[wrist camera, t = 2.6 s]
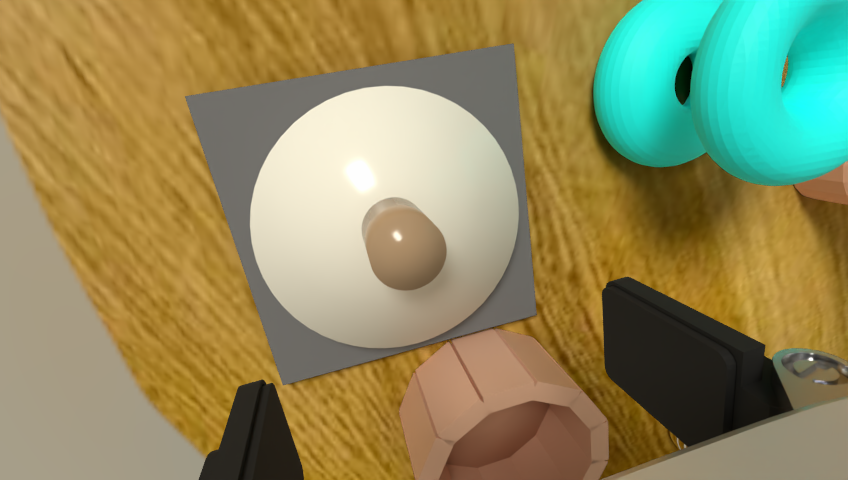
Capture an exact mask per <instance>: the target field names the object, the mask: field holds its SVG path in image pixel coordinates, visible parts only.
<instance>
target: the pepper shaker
mask: <svg viewBox="0 0 848 480" xmlns="http://www.w3.org/2000/svg"><path fill="white" fill-rule="evenodd" d="M794 186H795V188H796V189H797V190H798V191H799V192H800V193H801V194H802V195H804V196H806V197H809V198H812V199H817V200H823V201H829V202H834V203H840V204H846V205H848V161H846V162H845V163H843V164H842V165H840V166H839V167H838V168H836V169H834V170H832V171H831V172H829V173H827V174H825V175H822V176H820V177H817V178H815V179H812V180H808V181H805V182H802V183H798V184H794Z"/></svg>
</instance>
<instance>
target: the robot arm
mask: <svg viewBox="0 0 848 480" xmlns="http://www.w3.org/2000/svg"><path fill="white" fill-rule="evenodd" d="M602 304H603V330H604V357H605V369H606V372H607V374H608V376H609V377H610V378H611V380H612V381H614V382H615V383H616V384H617V385H618V386H619V387H620V388H622V389H623V390H624V391H625V392H626V393H627V394H628V395H629V396H631V397H632V398H633V399H634V400H635V401H636V402H637V403H639V404H640V405H641V406H642V407H643V408H644V409H645V410H646V411H648V412H649V413H650V414H651V415H652V416H653V417H654V418H656V419H657V420H658V421H659V422H660V423H661V424H662V425H663V426H665V427H666V428H667V429H668V430H669V431H670V432H671V433H672V434H674V435H675V436H676V437H677V438H678V439H679V440H680V441H682V442H683V443H684V444H685V445H686V446H687V448H684V449H682V450H679V451H676V452H673V453H671V454H668V455H665V456H663V457H660V458H657V459H654V460H652V461H649V462H646V463H644V464H641V465H638V466H636V467H633V468H630V469H628V470H625V471H622V472H620V473H617V474H614V475H612V476H609V477H606V478H604V479H601V480H848V361H846V360H844V359H842V358H840V357H837V356H835V355H832V354H829V353H825V352H821V351H817V350H811V349H799V348H792V349H785V350H781V351H779V352H777V353H775V355H774V356H773V357H772V360H771V359H769V358H767V357H765V356H764V352H765V345H764V344H762V343H760V342H758V341H756V340H754V339H752V338H750V337H748V336H746V335H744V334H742V333H740V332H738V331H736V330H734V329H732V328H730V327H728V326H726V325H724V324H722V323H720V322H718V321H716V320H714V319H712V318H710V317H708V316H706V315H704V314H702V313H700V312H698V311H696V310H694V309H692V308H690V307H688V306H686V305H684V304H682V303H680V302H678V301H676V300H674V299H672V298H670V297H668V296H666V295H664V294H662V293H660V292H658V291H656V290H654V289H652V288H650V287H648V286H646V285H644V284H642V283H640V282H638V281H636V280H634V279H632V278H630V277H624V278H621V279H617V280H614V281H610V282H608V283H607V285H606V288H604V289H603V291H602ZM199 480H304V476H303V469H302V465H301V462H300V459H299V456H298V453H297V450H296V447H295V444H294V441H293V438H292V435H291V432H290V429H289V426H288V423H287V420H286V417H285V415H284V412H283V409H282V406H281V403H280V400H279V397H278V394H277V391H276V388H275V386H274V384H273V383H270V384H267V385H266V383H265V381H264V380H259V381H256V382H252V383H249V384H245V385H242V386H239V388H238V390H237V393H236V396H235V399H234V402H233V406H232V409H231V412H230V415H229V418H228V422H227V425H226V428H225V431H224V434H223V438H222V441H221V444H220V447H219V449H218V450H215V451H212V452H210V453H209V454H208V456H207V458H206V460H205V463H204V466H203V469H202V472H201V475H200V477H199Z"/></svg>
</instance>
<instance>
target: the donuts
mask: <svg viewBox="0 0 848 480" xmlns="http://www.w3.org/2000/svg"><path fill="white" fill-rule="evenodd" d="M787 54H788V71H787V76H786V79H785V83H784V85H783V87H782V89H781V80H782V72H783V67H784V64H785V60H786V57H787ZM687 56H689V58H690V59H691V62H692V66H693V70H692V76H691V85H690V94H689V96H688V98H687V100H686V102H685V103H684V104H683V105H682V104H681V103H680V102H679V101H678V99H677V97H676V93H675V77H676V74H677V71H678V68H679V66H680V65H681V63H682V61H683V60H684V59H685V58H686V57H687ZM593 99H594V108H595V113H596V117H597V120H598V123H599V126H600V128H601V130H602V132H603V134H604V136H605V138H606V139H607V141H608V142H609V143H610V145H611V146H612V147H613V148H614V149H615V150H616V151H617V152H618V153H620V154H621V155H622V156H624V157H625V158H627V159H629V160H631V161H633V162H635V163H638V164H641V165H645V166H651V167H669V166H675V165H680V164H683V163H686V162H688V161H691V160H693V159H695V158H698V157H699V156H701V155H703V154H704V153H706V152H707V153H708V155H709V156H710V157H711V158H712V159H713V160H714V161H715V162H716V163H717V164H718V165H719V166H720V167H721V168H722V169H724V170H725V171H726V172H728V173H729V174H731V175H733V176H735V177H737V178H739V179H742V180H744V181H747V182H750V183H754V184H759V185H767V186H782V185H792V184H798V183H802V182H805V181H808V180H812V179H815V178H817V177H820V176H822V175H825V174H827V173H829V172H831V171H832V170H834V169H836V168H838V167H839V166H840V165H842V164H843V163H845V162H846V161H848V0H643V1H641V2H640V3H639V4H637V5H636V6H635V7H634V8H632V9H631V10H630V11H629V12H628V13H627V14H626V15H625V16H624V17H623V18H622V19H621V21H620V22H619V23H618V24H617V26H616V27H615V29H614V30H613V32H612V33H611V35H610V36H609V38H608V40H607V42H606V44H605V46H604V48H603V50H602V53H601V55H600V58H599V61H598V64H597V68H596V73H595V78H594V88H593Z"/></svg>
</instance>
